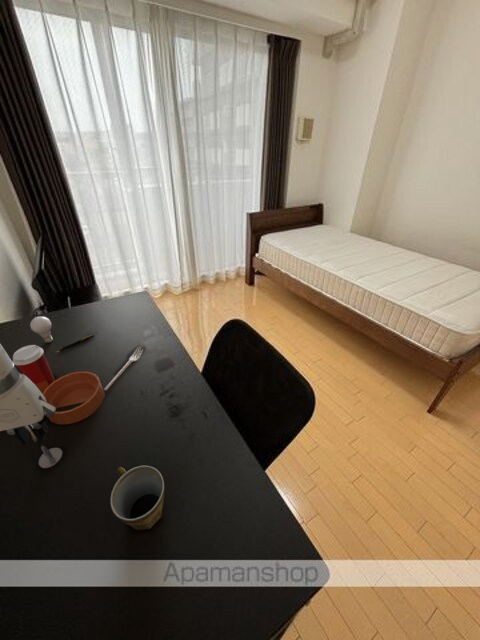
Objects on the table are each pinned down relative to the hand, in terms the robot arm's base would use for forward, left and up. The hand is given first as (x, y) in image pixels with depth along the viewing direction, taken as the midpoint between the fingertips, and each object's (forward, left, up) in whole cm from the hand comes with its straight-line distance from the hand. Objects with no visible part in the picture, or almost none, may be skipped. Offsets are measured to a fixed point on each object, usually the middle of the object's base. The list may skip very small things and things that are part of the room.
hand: (35, 436), depth 63 cm
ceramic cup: (+21, -17, -11) cm, 29 cm away
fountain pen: (-2, +47, -11) cm, 48 cm away
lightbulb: (-12, +52, -11) cm, 54 cm away
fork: (+16, +28, -11) cm, 34 cm away
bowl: (+3, +17, -11) cm, 20 cm away
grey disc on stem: (0, 0, -11) cm, 11 cm away
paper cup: (-8, +28, -11) cm, 31 cm away
